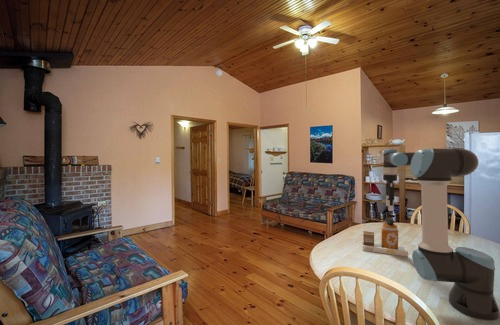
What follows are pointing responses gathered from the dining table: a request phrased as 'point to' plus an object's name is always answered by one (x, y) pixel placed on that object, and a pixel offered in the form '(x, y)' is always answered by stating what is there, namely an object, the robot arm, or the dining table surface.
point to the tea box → (368, 238)
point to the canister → (389, 234)
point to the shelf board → (386, 250)
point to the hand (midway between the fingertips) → (389, 208)
